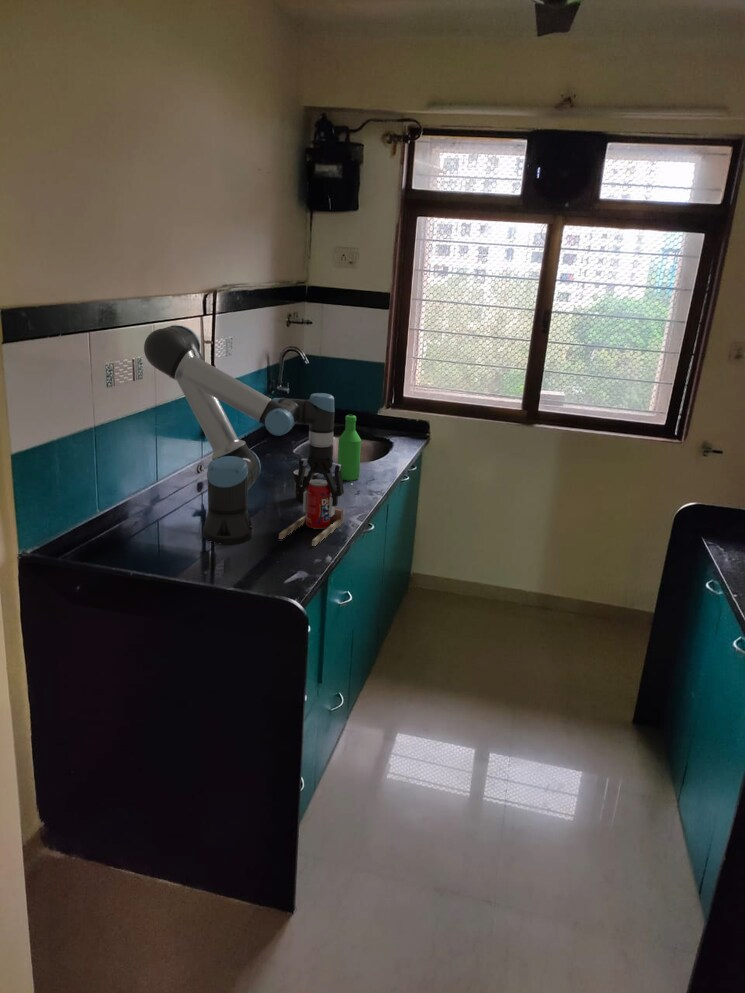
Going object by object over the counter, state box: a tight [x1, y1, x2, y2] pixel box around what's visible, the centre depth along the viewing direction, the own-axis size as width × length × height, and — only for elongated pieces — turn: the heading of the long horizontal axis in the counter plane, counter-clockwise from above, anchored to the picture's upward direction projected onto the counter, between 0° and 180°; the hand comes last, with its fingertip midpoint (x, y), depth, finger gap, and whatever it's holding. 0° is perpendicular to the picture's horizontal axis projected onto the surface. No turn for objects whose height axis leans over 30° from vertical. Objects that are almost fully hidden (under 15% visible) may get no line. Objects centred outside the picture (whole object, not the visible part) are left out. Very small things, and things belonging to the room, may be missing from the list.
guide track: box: [278, 507, 344, 547], centre depth 221 cm, size 22×12×5 cm, turn 160°
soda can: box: [305, 478, 332, 530], centre depth 224 cm, size 8×8×15 cm
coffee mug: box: [293, 468, 319, 503], centre depth 251 cm, size 12×9×10 cm
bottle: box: [337, 414, 362, 482], centre depth 274 cm, size 9×9×25 cm
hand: (318, 513), depth 225 cm, fingers open, 8 cm apart
